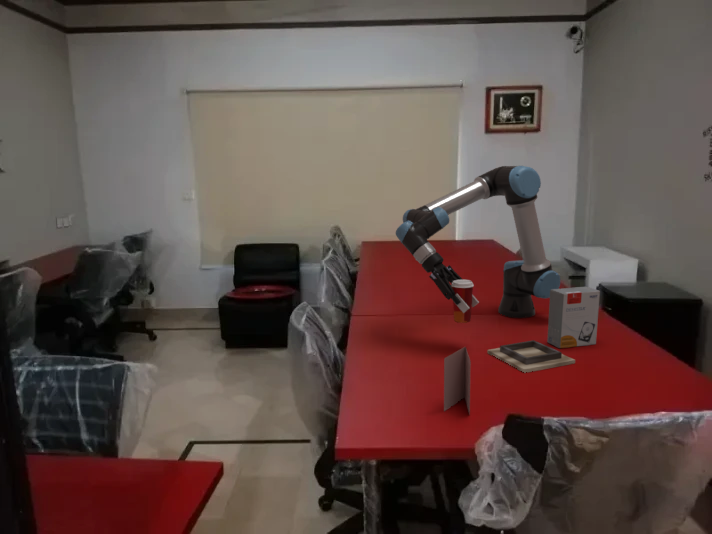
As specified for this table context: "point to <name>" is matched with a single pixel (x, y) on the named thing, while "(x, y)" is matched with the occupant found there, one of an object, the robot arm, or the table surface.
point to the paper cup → (465, 292)
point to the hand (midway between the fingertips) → (471, 307)
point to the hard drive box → (573, 316)
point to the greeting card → (457, 378)
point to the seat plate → (530, 356)
